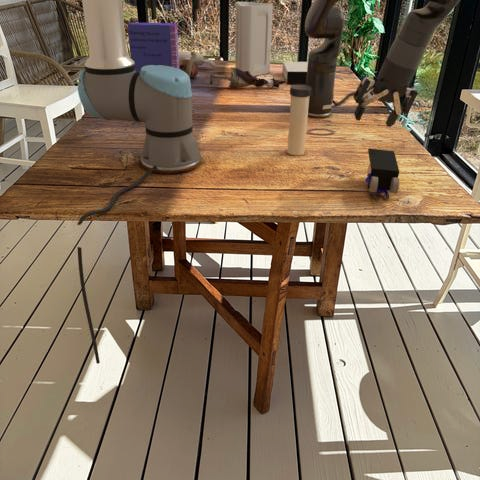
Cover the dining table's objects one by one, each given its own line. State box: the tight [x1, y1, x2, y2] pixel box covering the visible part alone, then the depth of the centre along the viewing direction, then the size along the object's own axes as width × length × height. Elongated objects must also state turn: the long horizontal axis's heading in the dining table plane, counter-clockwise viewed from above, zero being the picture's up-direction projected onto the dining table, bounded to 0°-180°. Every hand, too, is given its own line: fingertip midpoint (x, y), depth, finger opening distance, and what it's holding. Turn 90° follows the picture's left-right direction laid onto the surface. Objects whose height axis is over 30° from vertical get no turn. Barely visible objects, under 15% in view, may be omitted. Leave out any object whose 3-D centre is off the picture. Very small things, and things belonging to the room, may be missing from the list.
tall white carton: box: [234, 1, 274, 77], centre depth 210 cm, size 19×15×28 cm
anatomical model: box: [179, 51, 199, 79], centre depth 200 cm, size 13×9×15 cm
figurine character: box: [365, 148, 400, 200], centre depth 109 cm, size 7×8×15 cm
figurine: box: [209, 66, 287, 89], centre depth 190 cm, size 24×8×30 cm
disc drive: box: [281, 61, 308, 85], centre depth 207 cm, size 18×22×5 cm
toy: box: [178, 51, 217, 69], centre depth 222 cm, size 24×25×7 cm
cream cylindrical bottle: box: [286, 95, 309, 157], centre depth 127 cm, size 5×5×17 cm
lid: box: [289, 84, 311, 97], centre depth 122 cm, size 5×5×2 cm
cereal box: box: [126, 21, 180, 72], centre depth 181 cm, size 17×5×24 cm, turn 86°
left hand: (174, 20), depth 152 cm, fingers open, 13 cm apart
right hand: (372, 122), depth 120 cm, fingers open, 8 cm apart
